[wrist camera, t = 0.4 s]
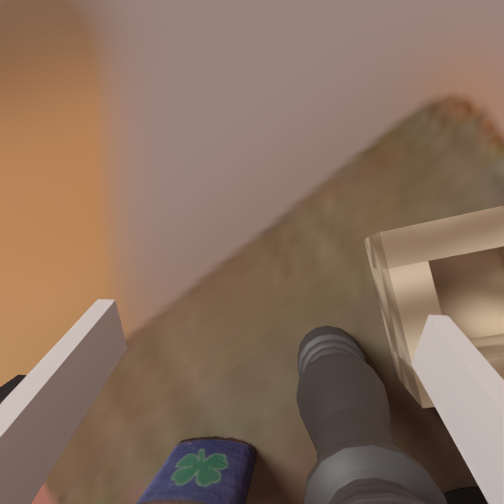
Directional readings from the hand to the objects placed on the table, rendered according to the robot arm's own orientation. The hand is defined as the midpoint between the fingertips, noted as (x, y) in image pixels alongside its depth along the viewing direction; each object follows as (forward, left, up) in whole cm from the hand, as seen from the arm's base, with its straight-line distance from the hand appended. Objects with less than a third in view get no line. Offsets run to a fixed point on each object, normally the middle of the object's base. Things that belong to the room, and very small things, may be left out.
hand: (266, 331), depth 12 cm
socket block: (-3, -16, -18) cm, 24 cm away
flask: (-15, +11, -18) cm, 26 cm away
